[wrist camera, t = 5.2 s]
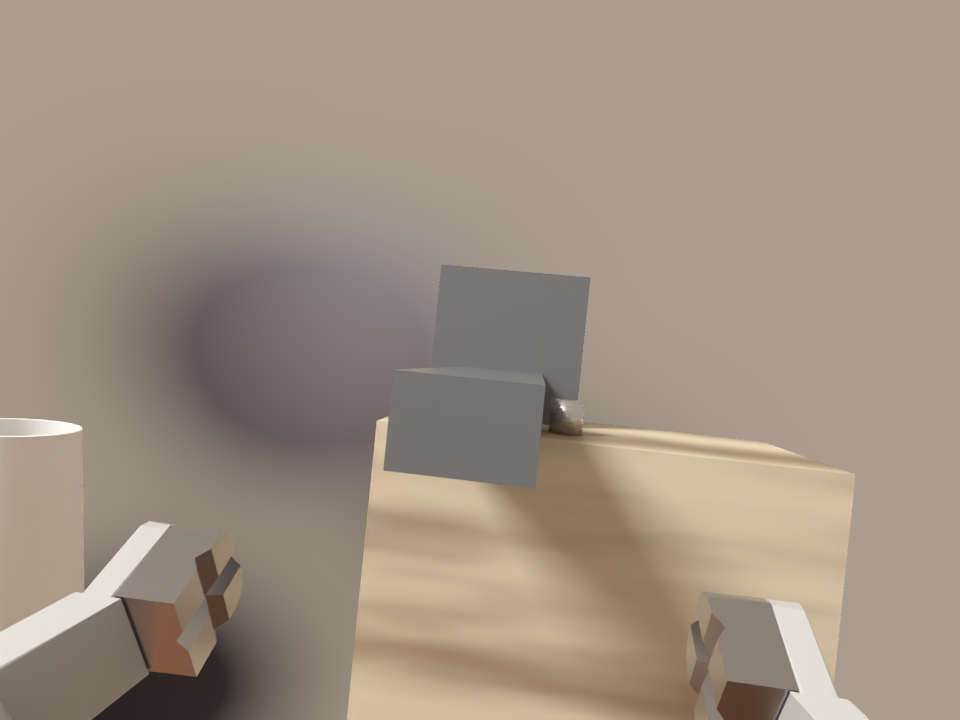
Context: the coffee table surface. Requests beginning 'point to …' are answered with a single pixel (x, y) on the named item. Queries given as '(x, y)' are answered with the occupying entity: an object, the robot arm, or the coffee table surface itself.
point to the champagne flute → (39, 515)
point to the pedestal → (584, 572)
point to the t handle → (489, 376)
